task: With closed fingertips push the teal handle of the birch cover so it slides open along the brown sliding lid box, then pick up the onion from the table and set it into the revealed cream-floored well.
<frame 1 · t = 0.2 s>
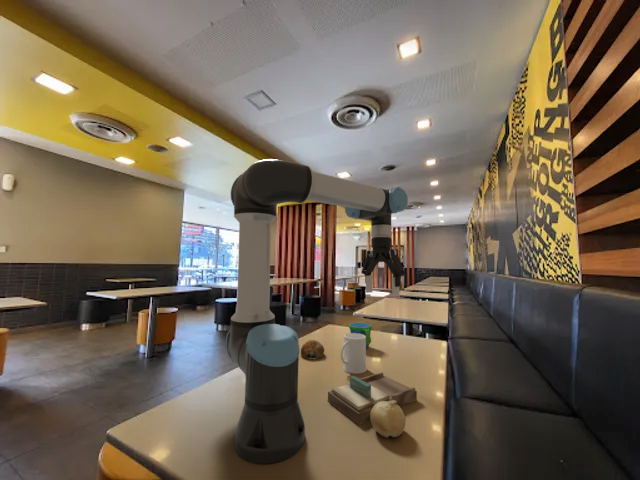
hand: (381, 294, 98), 28 cm above the table, fingers open, 13 cm apart
mug: (351, 370, 97), on the table
brown sliding lid box: (372, 400, 75), on the table
cover: (360, 387, 73), point 5 cm above the table, slide at 0.0 cm
snack cup: (360, 347, 124), on the table
onion: (387, 433, 61), on the table
bread roll: (312, 356, 112), on the table
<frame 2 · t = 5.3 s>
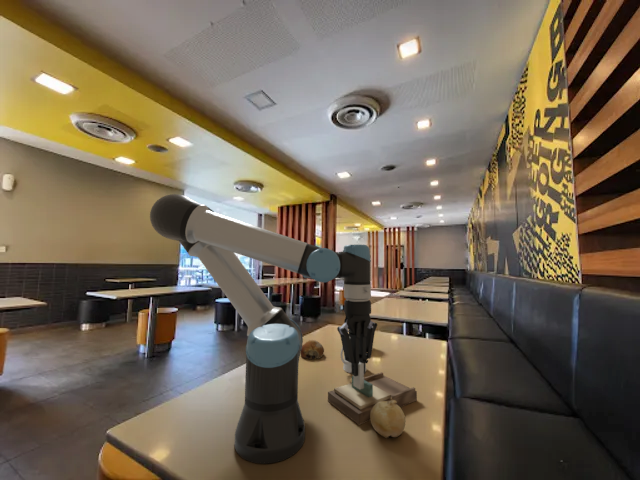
hand: (358, 386, 72), 5 cm above the table, fingers closed
cover: (361, 387, 73), point 5 cm above the table, slide at 0.6 cm, touching gripper
everything else where it was.
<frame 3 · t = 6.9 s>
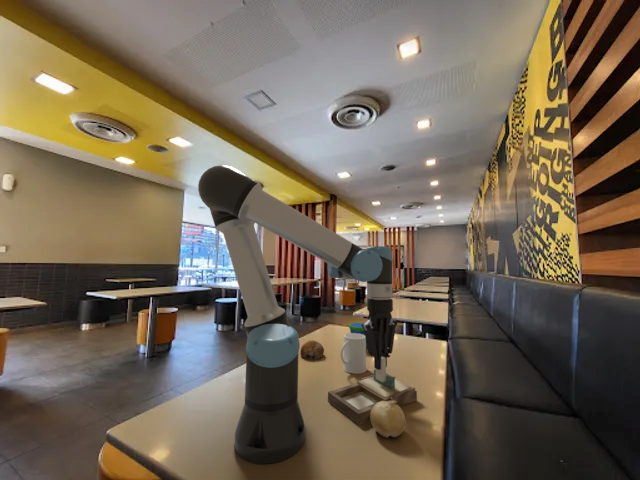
hand: (380, 379, 77), 5 cm above the table, fingers closed
cover: (383, 380, 78), point 5 cm above the table, slide at 9.3 cm, touching gripper
everything else where it was.
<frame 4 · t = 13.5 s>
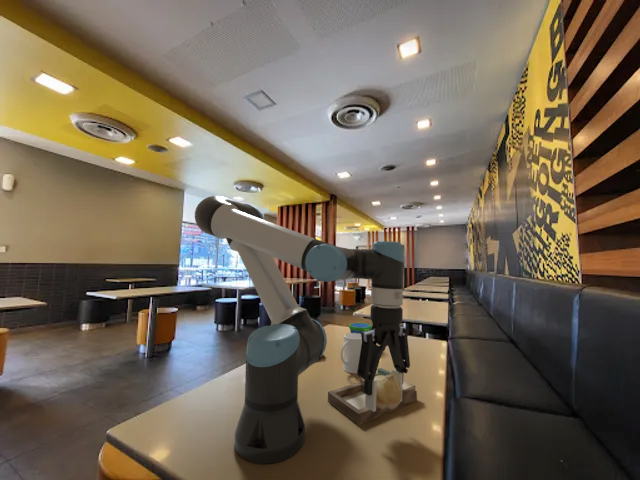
hand: (384, 403, 62), 6 cm above the table, fingers closed on onion, 8 cm apart
cover: (387, 378, 79), point 5 cm above the table, slide at 11.0 cm
onion: (384, 406, 62), point 5 cm above the table, touching gripper
when the fingers open (4 cm above the table, at t = 17.5 s): onion drops 3 cm, resting on brown sliding lid box.
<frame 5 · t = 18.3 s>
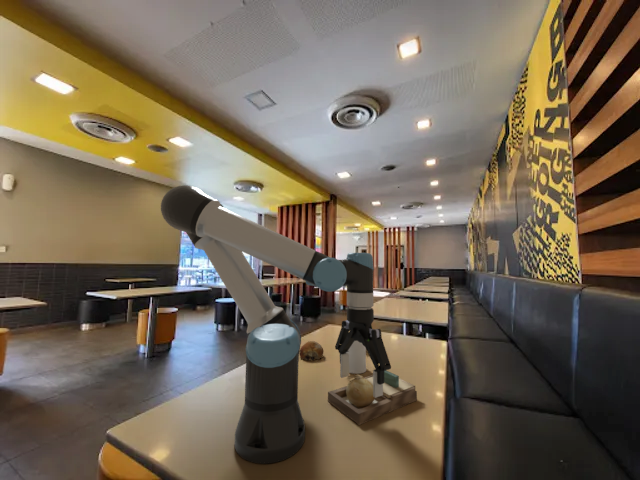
hand: (360, 385, 73), 5 cm above the table, fingers open, 13 cm apart
onion: (360, 404, 72), resting on brown sliding lid box
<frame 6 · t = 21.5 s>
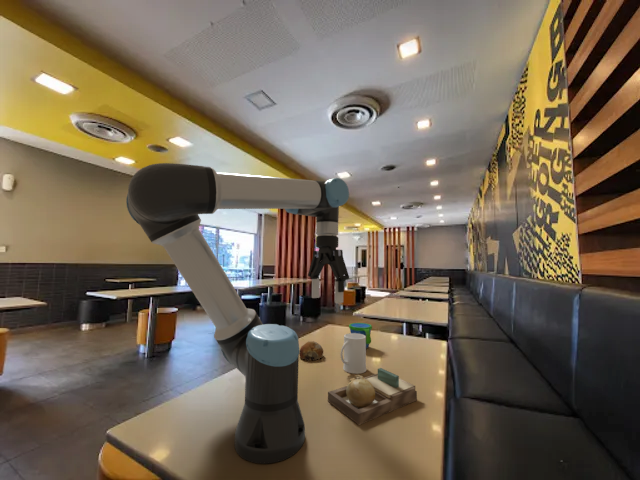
hand: (326, 300, 87), 27 cm above the table, fingers open, 13 cm apart
at the end: onion inside the target area (0.2 cm from its centre), resting on brown sliding lid box; cover slide at 11.0 cm; the gripper is holding nothing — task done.
